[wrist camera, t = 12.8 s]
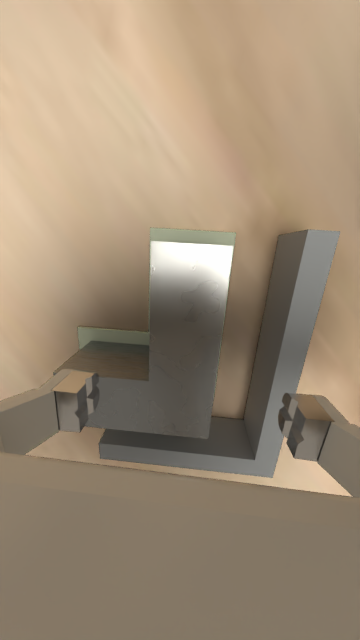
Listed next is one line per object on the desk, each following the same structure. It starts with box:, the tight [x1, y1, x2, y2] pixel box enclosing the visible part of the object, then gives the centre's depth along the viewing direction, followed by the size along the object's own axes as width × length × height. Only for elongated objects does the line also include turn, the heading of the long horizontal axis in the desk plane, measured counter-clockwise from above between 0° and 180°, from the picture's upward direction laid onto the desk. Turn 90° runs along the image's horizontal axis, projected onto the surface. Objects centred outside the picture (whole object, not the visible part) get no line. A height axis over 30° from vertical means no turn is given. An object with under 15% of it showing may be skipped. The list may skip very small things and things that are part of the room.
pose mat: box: [77, 228, 236, 401], centre depth 17 cm, size 14×12×1 cm
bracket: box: [53, 241, 233, 439], centre depth 15 cm, size 10×12×5 cm
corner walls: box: [99, 230, 340, 478], centre depth 16 cm, size 18×14×4 cm
